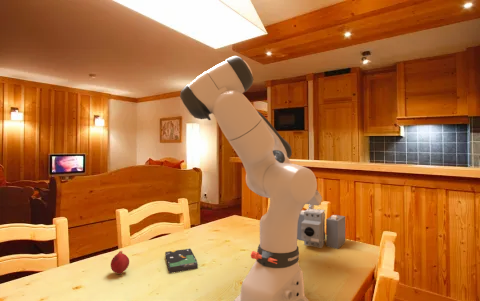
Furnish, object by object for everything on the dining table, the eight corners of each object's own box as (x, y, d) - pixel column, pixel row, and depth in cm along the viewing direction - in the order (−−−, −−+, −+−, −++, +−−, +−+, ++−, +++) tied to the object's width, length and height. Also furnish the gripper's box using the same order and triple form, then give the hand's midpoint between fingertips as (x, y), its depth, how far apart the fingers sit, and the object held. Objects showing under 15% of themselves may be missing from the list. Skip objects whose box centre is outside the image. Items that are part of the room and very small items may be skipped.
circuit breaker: (300, 249, 111) (300, 214, 111) (308, 239, 123) (308, 208, 123) (318, 253, 107) (318, 216, 107) (325, 242, 120) (325, 209, 119)
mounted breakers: (337, 248, 111) (337, 218, 111) (295, 238, 124) (295, 211, 124) (345, 242, 119) (345, 213, 119) (304, 233, 132) (304, 207, 132)
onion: (117, 279, 86) (117, 255, 86) (107, 275, 88) (106, 252, 88) (132, 272, 91) (132, 249, 91) (122, 268, 94) (121, 246, 93)
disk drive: (164, 258, 103) (169, 275, 90) (164, 251, 104) (169, 266, 90) (190, 254, 107) (198, 269, 94) (190, 248, 107) (198, 261, 94)
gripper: (318, 180, 94) (328, 203, 102) (270, 177, 107) (282, 197, 115) (313, 194, 91) (323, 216, 98) (264, 189, 104) (277, 209, 111)
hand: (301, 206), depth 107 cm, fingers open, 8 cm apart
